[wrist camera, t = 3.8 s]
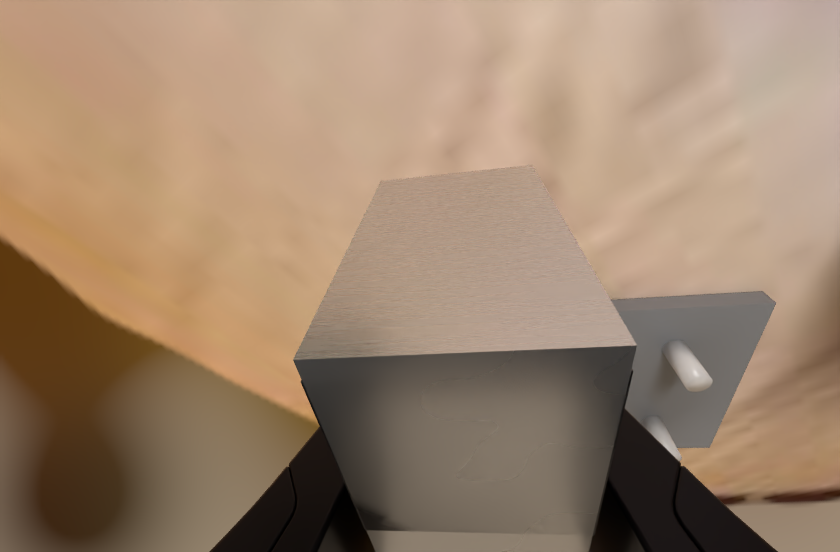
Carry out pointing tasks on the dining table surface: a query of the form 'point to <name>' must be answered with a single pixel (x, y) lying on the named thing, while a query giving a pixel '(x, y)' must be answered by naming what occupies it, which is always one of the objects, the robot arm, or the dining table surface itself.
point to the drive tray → (690, 360)
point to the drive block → (469, 369)
